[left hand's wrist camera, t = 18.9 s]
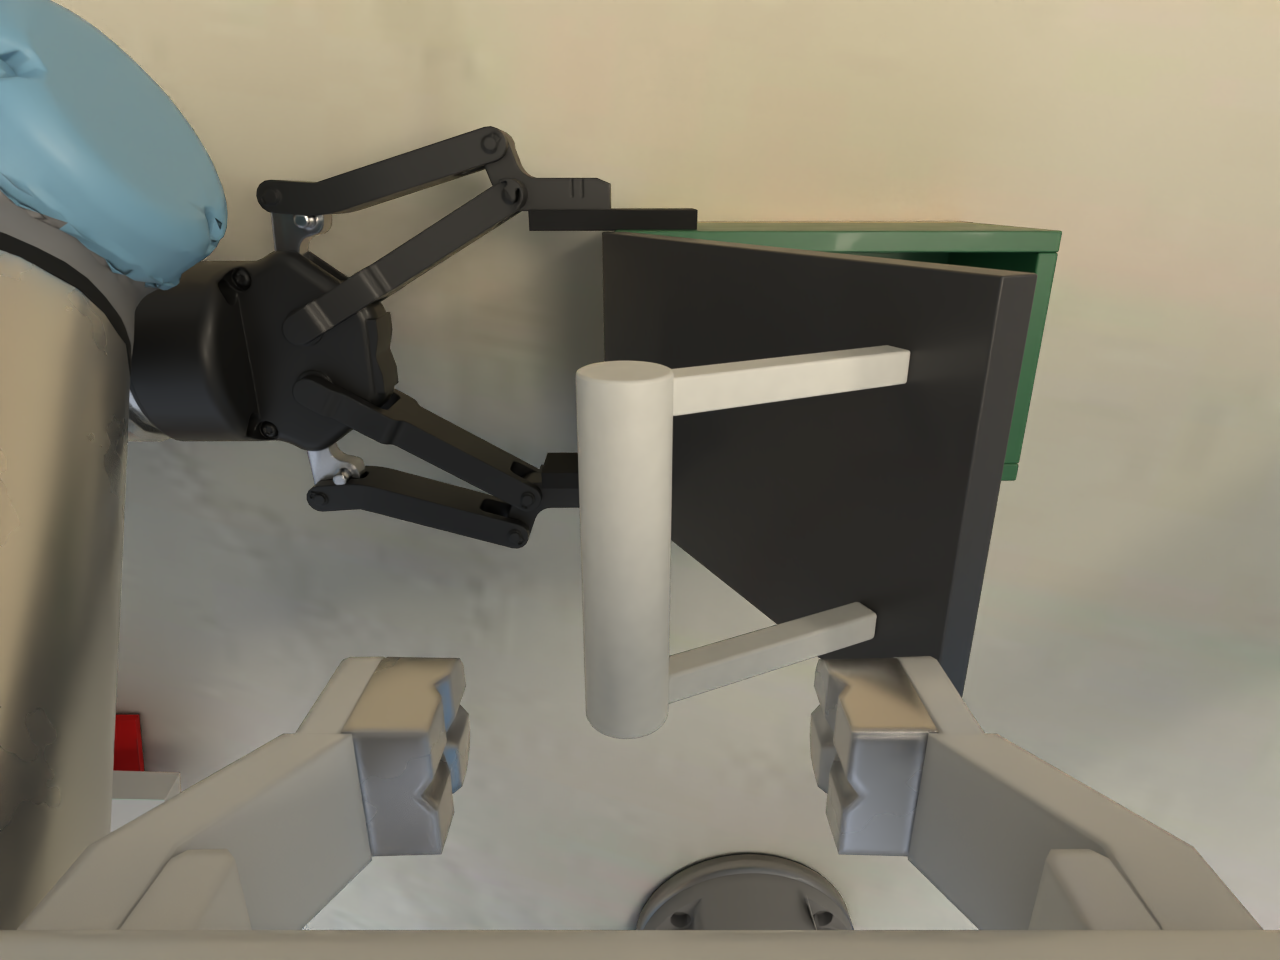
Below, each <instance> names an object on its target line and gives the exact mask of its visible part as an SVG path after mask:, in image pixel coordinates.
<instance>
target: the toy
mask: <svg viewBox="0 0 1280 960" xmlns="http://www.w3.org/2000/svg"><path fill="white" fill-rule="evenodd" d="M179 793H181V785H180V772H147V771H144V762H143V751H142V740H141V729H140V718H139V715H116V717H115V740H114V763H113V786H112V809H111V832H113V831H115V830H116V829H118V828H120V827H122V826H123V825H125V824H127V823H129V822H130V821H132V820H134V819H135V818H137V817H139V816H141V815H142V814H144V813H146V812H148V811H149V810H151V809H153V808H155V807H156V806H158V805H160V804H162V803H163V802H165V801H167V800H169V799H170V798H172V797H174V796H176V795H177V794H179ZM111 832H110V833H111Z"/></svg>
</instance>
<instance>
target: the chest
mask: <svg viewBox="0 0 1280 960" xmlns="http://www.w3.org/2000/svg"><path fill="white" fill-rule="evenodd" d="M615 232H633V233H643V234H653V235H663V236H673V237H682V238H692V239H702V240H712V241H722V242H732V243H742V244H752V245H761V246H771V247H781V248H791V249H801V250H811V251H821V252H830V253H840V254H850V255H860V256H870V257H880V258H890V259H900V260H909V261H919V262H929V263H939V264H949V265H959V266H969V267H979V268H988V269H998V270H1008V271H1018V272H1028V273H1035V274H1037V276H1038V277H1037V282H1036V288H1035V293H1034V299H1033V305H1032V310H1031V316H1030V321H1029V327H1028V332H1027V338H1026V344H1025V349H1024V355H1023V360H1022V366H1021V372H1020V377H1019V383H1018V388H1017V394H1016V400H1015V405H1014V411H1013V416H1012V422H1011V428H1010V433H1009V439H1008V444H1007V450H1006V456H1005V461H1004V467H1003V472H1002V478H1001V481H1014V480H1016V476H1017V470H1018V464H1017V463H1019V459H1020V454H1021V449H1022V443H1023V438H1024V433H1025V427H1026V422H1027V416H1028V411H1029V406H1030V400H1031V395H1032V390H1033V384H1034V379H1035V373H1036V368H1037V363H1038V357H1039V352H1040V347H1041V341H1042V336H1043V330H1044V325H1045V320H1046V314H1047V309H1048V304H1049V298H1050V293H1051V287H1052V282H1053V277H1054V271H1055V266H1056V261H1057V253H1056V252H1058V251H1059V246H1060V240H1061V235H1062V231H1057V230H1046V229H1035V228H1024V227H1013V226H1002V225H991V224H980V223H973V222H697V230H615Z"/></svg>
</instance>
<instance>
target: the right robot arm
mask: <svg viewBox="0 0 1280 960" xmlns="http://www.w3.org/2000/svg"><path fill="white" fill-rule="evenodd" d="M484 169H486V171H487V174H488V176H489V178H490V181H491V183H492V187H490V188H489V189H487V190H486V191H484V192H483V193H481V194H480V195H478V196H477V197H475V198H473V199H472V200H470V201H469V202H467V203H466V204H464V205H463V206H461V207H460V208H458V209H457V210H455V211H453V212H452V213H450V214H449V215H447V216H446V217H444V218H443V219H441V220H440V221H438V222H436V223H435V224H433V225H432V226H430V227H429V228H427V229H426V230H424V231H423V232H421V233H420V234H418V235H416V236H415V237H413V238H412V239H410V240H409V241H407V242H406V243H404V244H403V245H401V246H399V247H398V248H396V249H395V250H393V251H392V252H390V253H389V254H387V255H386V256H384V257H382V258H381V259H379V260H378V261H376V262H375V263H373V264H371V265H370V266H368V267H366V268H364V269H362V270H360V271H359V272H357V273H356V274H354V275H352V276H351V277H349V278H348V277H347V276H345V275H344V274H342V273H341V272H339V271H338V270H336V269H335V268H334V267H332V266H331V265H329V264H328V263H326V262H325V261H323V260H322V259H320V258H319V257H317V256H316V255H314V254H313V253H311V252H309V251H308V245H309V242H310V240H311V239H312V238H313V237H315V236H316V235H320V234H325V233H326V232H328V231H329V229H330V228H331V225H332V214H341V213H349V212H354V211H357V210H361V209H364V208H367V207H371V206H374V205H377V204H380V203H383V202H386V201H389V200H392V199H395V198H398V197H401V196H404V195H407V194H411V193H414V192H417V191H420V190H423V189H426V188H429V187H432V186H435V185H438V184H441V183H444V182H447V181H451V180H454V179H457V178H460V177H463V176H466V175H469V174H472V173H475V172H478V171H481V170H484ZM256 196H257V199H258V202H259V204H260V205H261V207H262V208H263V209H265V210H266V211H268V212H271V219H272V228H273V238H274V248H275V251H274V252H272V253H270V254H268V255H267V256H265V257H264V258H262V259H260V260H258V261H201V260H203V259H204V258H206V257H207V256H209V255H210V254H211V253H212V251H213V250H214V249H215V248H216V247H217V245H218V243H219V241H220V239H221V238H223V237H224V234H225V231H226V228H227V203H226V199H225V195H224V191H223V187H222V184H221V182H220V179H219V177H218V175H217V172H216V170H215V167H214V165H213V163H212V161H211V159H210V157H209V155H208V153H207V151H206V150H205V148H204V146H203V145H202V143H201V141H200V140H199V138H198V136H197V135H196V133H195V132H194V130H193V129H192V127H191V126H190V124H189V123H188V122H187V120H186V119H185V118H184V116H183V115H182V114H181V112H180V111H179V110H178V108H177V107H176V106H175V104H174V103H173V102H172V100H171V99H170V98H169V97H168V96H167V94H166V93H165V92H164V91H163V90H162V89H161V88H160V87H159V85H158V84H157V83H156V82H155V81H154V80H153V79H152V78H151V77H150V76H149V75H148V74H147V73H146V72H145V71H144V70H143V69H142V68H141V67H140V66H139V65H138V64H137V63H136V62H135V61H134V60H133V59H132V58H130V57H129V56H128V55H127V54H126V53H125V52H124V51H123V50H122V49H121V48H120V47H118V46H117V45H116V44H115V43H114V42H113V41H112V40H110V39H109V38H108V37H107V36H106V35H104V34H103V33H102V32H101V31H100V30H98V29H97V28H96V27H94V26H93V25H91V24H90V23H88V22H87V21H86V20H84V19H83V18H81V17H80V16H78V15H76V14H75V13H73V12H71V11H70V10H68V9H66V8H64V7H63V6H61V5H59V4H57V3H55V2H53V1H51V0H0V930H17V929H18V927H19V926H20V925H21V924H22V923H23V922H24V920H25V919H26V918H27V917H28V916H29V914H30V913H31V912H32V911H33V910H34V909H35V907H36V906H37V905H38V904H39V903H40V902H41V900H42V899H43V898H44V897H45V896H46V895H47V893H48V892H49V891H50V890H51V889H52V887H53V886H54V885H55V884H56V883H57V882H58V880H59V879H60V878H61V877H62V876H63V875H64V873H65V872H66V871H67V870H68V869H69V868H70V866H71V865H72V864H73V863H74V862H75V860H76V859H77V858H78V857H79V856H80V855H81V853H82V852H83V851H84V850H85V849H86V848H87V846H88V845H90V844H92V843H94V842H95V841H97V840H99V839H101V838H102V837H104V836H106V835H108V834H109V833H110V832H111V809H112V786H113V763H114V740H115V717H116V694H117V671H118V648H119V625H120V602H121V579H122V557H123V534H124V511H125V488H126V465H127V442H128V441H164V440H167V439H170V438H173V439H175V440H179V441H269V440H279V441H284V442H287V443H290V444H293V445H295V446H297V447H299V448H301V449H304V450H307V453H308V457H309V461H310V466H311V470H312V475H313V479H314V484H315V485H314V486H313V487H312V488H311V489H310V490H309V491H308V493H307V501H308V503H309V505H310V506H311V507H312V508H313V509H315V510H317V511H339V510H355V509H362V510H366V511H370V512H374V513H378V514H382V515H385V516H389V517H393V518H397V519H401V520H405V521H409V522H413V523H417V524H420V525H424V526H428V527H432V528H436V529H440V530H444V531H448V532H452V533H455V534H459V535H463V536H467V537H471V538H475V539H479V540H483V541H487V542H490V543H494V544H498V545H502V546H506V547H510V548H521V547H523V546H524V545H525V544H526V543H527V541H528V539H529V535H530V533H531V530H532V527H533V524H534V521H535V518H536V516H537V514H538V513H539V512H540V511H542V510H544V509H546V508H580V505H579V472H578V453H547V456H546V460H545V463H544V466H543V465H541V467H540V469H538V468H536V467H534V466H532V465H530V464H528V463H527V462H525V461H523V460H521V459H519V458H517V457H515V456H513V455H511V454H509V453H508V452H506V451H504V450H502V449H500V448H498V447H496V446H494V445H492V444H491V443H489V442H487V441H485V440H483V439H481V438H479V437H477V436H475V435H473V434H472V433H470V432H468V431H466V430H464V429H462V428H460V427H458V426H456V425H454V424H453V423H451V422H449V421H447V420H445V419H443V418H441V417H439V416H437V415H436V414H434V413H432V412H430V411H428V410H426V409H424V408H422V407H421V406H420V405H419V404H418V403H417V401H416V400H415V399H413V398H411V397H410V396H408V395H406V394H404V393H402V392H400V391H398V390H396V389H395V388H394V386H395V385H396V384H397V383H398V375H397V366H396V363H395V361H394V358H393V355H392V353H391V350H390V342H391V335H392V323H391V314H390V312H386V311H385V309H384V307H383V305H382V304H381V301H383V300H384V299H386V298H387V297H389V296H390V295H392V294H394V293H395V292H397V291H398V290H400V289H401V288H403V287H404V286H406V285H407V284H408V283H410V282H411V281H413V280H414V279H416V278H418V277H419V276H421V275H422V274H424V273H425V272H427V271H429V270H430V269H432V268H433V267H435V266H436V265H438V264H440V263H441V262H443V261H444V260H446V259H447V258H449V257H451V256H452V255H454V254H455V253H457V252H458V251H460V250H462V249H463V248H465V247H466V246H468V245H469V244H471V243H473V242H474V241H476V240H477V239H479V238H480V237H482V236H484V235H485V234H487V233H488V232H490V231H491V230H493V229H495V228H496V227H498V226H499V225H501V224H502V223H504V222H506V221H507V220H509V219H510V218H512V217H513V216H515V215H517V214H518V213H520V212H521V211H528V212H529V231H615V230H697V210H696V209H692V208H681V209H611V184H610V183H608V182H605V181H603V180H600V179H598V178H535V177H532V176H531V175H529V174H528V173H527V172H526V171H525V170H524V168H523V166H522V164H521V162H520V159H519V157H518V154H517V152H516V149H515V143H514V141H513V139H512V137H511V136H510V135H509V134H507V133H506V132H504V131H502V130H500V129H497V128H495V127H492V126H488V127H483V128H480V129H477V130H474V131H471V132H468V133H465V134H462V135H459V136H456V137H452V138H449V139H446V140H443V141H440V142H437V143H434V144H431V145H428V146H425V147H422V148H419V149H416V150H413V151H410V152H407V153H404V154H401V155H398V156H395V157H392V158H389V159H386V160H383V161H380V162H377V163H374V164H371V165H368V166H365V167H362V168H359V169H356V170H353V171H350V172H346V173H343V174H340V175H337V176H334V177H331V178H328V179H325V180H322V181H319V182H308V181H288V180H267V181H264V182H262V183H261V184H260V185H259V187H258V188H257V195H256ZM353 429H354V430H356V431H358V432H360V433H362V434H364V435H366V436H368V437H370V438H371V439H373V440H375V441H377V442H380V443H383V444H392V445H395V446H398V447H400V448H402V449H404V450H405V451H407V452H409V453H411V454H413V455H415V456H417V457H419V458H421V459H423V460H425V461H427V462H429V463H431V464H433V465H435V466H437V467H439V468H441V469H442V470H444V471H446V472H448V473H450V474H452V475H454V476H456V477H458V478H460V479H462V480H464V481H466V482H468V483H470V484H472V485H474V486H476V487H478V488H479V489H481V490H483V491H485V492H487V493H489V494H491V495H489V494H485V493H481V492H477V491H473V490H470V489H466V488H462V487H458V486H454V485H451V484H447V483H443V482H439V481H436V480H432V479H428V478H424V477H420V476H417V475H413V474H409V473H405V472H401V471H398V470H394V469H389V468H385V467H377V466H365V465H364V462H363V460H362V459H361V458H360V457H356V456H352V455H347V454H345V453H343V452H342V451H341V450H340V449H339V448H338V446H337V443H336V442H337V441H338V440H340V439H341V438H342V437H343V436H345V435H346V434H347V433H349V432H350V431H351V430H353ZM492 495H493V496H492ZM636 930H854V929H853V926H852V923H851V919H850V916H849V913H848V910H847V907H846V904H845V902H844V901H843V899H842V897H841V895H840V894H839V893H838V891H837V890H836V889H835V888H834V886H833V885H832V884H831V883H830V882H828V881H827V880H826V879H825V878H824V877H822V876H821V875H820V874H818V873H817V872H815V871H813V870H812V869H810V868H808V867H806V866H804V865H801V864H799V863H796V862H794V861H791V860H787V859H783V858H779V857H774V856H767V855H752V854H746V855H732V856H725V857H720V858H715V859H711V860H708V861H704V862H701V863H699V864H696V865H694V866H691V867H689V868H687V869H685V870H683V871H681V872H679V873H678V874H676V875H674V876H673V877H672V878H670V879H669V880H667V881H666V882H665V883H664V884H662V885H661V886H660V887H659V888H658V889H657V890H656V891H655V892H654V893H653V894H652V896H651V897H650V898H649V899H648V901H647V902H646V904H645V906H644V907H643V909H642V911H641V913H640V916H639V919H638V922H637V927H636Z"/></svg>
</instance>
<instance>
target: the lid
mask: <svg viewBox="0 0 1280 960" xmlns="http://www.w3.org/2000/svg"><path fill="white" fill-rule="evenodd" d="M602 241H603V300H604V360H605V362H599V363H594V364H589V365H586V366H584V367H581V368H579V369H578V370H577V372H576V407H577V440H578V472H579V505H580V538H581V570H582V603H583V635H584V668H585V701H586V716H587V719H588V721H589V722H590V724H591V725H592V727H593V728H595V729H596V730H597V731H599V732H600V733H602V734H604V735H607V736H610V737H614V738H620V739H633V738H639V737H643V736H646V735H649V734H651V733H653V732H655V731H656V730H658V729H659V728H660V727H661V726H662V725H663V724H664V722H665V720H666V718H667V716H668V704H670V703H673V702H676V701H679V700H682V699H685V698H688V697H692V696H695V695H698V694H701V693H704V692H707V691H710V690H713V689H717V688H720V687H723V686H726V685H729V684H732V683H735V682H739V681H742V680H745V679H748V678H751V677H754V676H757V675H760V674H764V673H767V672H770V671H773V670H776V669H779V668H782V667H785V666H789V665H792V664H795V663H798V662H801V661H804V660H807V659H810V658H814V657H817V656H818V657H819V658H820V659H868V658H894V657H920V656H931V657H933V658H935V659H936V660H937V661H938V662H939V664H940V665H941V667H942V669H943V670H944V672H945V673H946V675H947V676H948V678H949V679H950V681H951V682H952V684H953V685H954V687H955V688H956V690H957V691H958V693H959V695H960V696H961V698H962V696H963V690H964V685H965V679H966V674H967V668H968V662H969V657H970V651H971V646H972V640H973V635H974V629H975V623H976V618H977V612H978V607H979V601H980V595H981V590H982V584H983V579H984V573H985V567H986V562H987V556H988V551H989V545H990V539H991V534H992V528H993V523H994V517H995V511H996V506H997V500H998V495H999V489H1000V483H1001V478H1002V472H1003V467H1004V461H1005V456H1006V450H1007V444H1008V439H1009V433H1010V428H1011V422H1012V416H1013V411H1014V405H1015V400H1016V394H1017V388H1018V383H1019V377H1020V372H1021V366H1022V360H1023V355H1024V349H1025V344H1026V338H1027V332H1028V327H1029V321H1030V316H1031V310H1032V305H1033V299H1034V293H1035V288H1036V282H1037V277H1038V276H1037V274H1035V273H1028V272H1018V271H1008V270H998V269H988V268H979V267H969V266H959V265H949V264H939V263H929V262H919V261H909V260H900V259H890V258H880V257H870V256H860V255H850V254H840V253H830V252H821V251H811V250H801V249H791V248H781V247H771V246H761V245H752V244H742V243H732V242H722V241H712V240H702V239H692V238H682V237H673V236H663V235H653V234H643V233H633V232H603V233H602ZM671 540H672V541H673V542H674V543H676V544H677V545H678V546H679V547H681V548H682V549H683V550H684V551H686V552H687V553H688V554H689V555H691V556H692V557H693V558H694V559H696V560H697V561H698V562H700V563H701V564H702V565H703V566H705V567H706V568H707V569H708V570H710V571H711V572H712V573H713V574H715V575H716V576H717V577H718V578H720V579H721V580H722V581H723V582H725V583H726V584H727V585H728V586H730V587H731V588H732V589H734V590H735V591H736V592H737V593H739V594H740V595H741V596H742V597H744V598H745V599H746V600H747V601H749V602H750V603H751V604H752V605H754V606H755V607H756V608H757V609H759V610H760V611H761V612H762V613H764V614H765V615H766V616H768V617H769V618H770V619H771V620H773V621H774V622H775V623H776V624H778V625H774V626H771V627H768V628H764V629H761V630H757V631H754V632H750V633H747V634H743V635H740V636H736V637H733V638H730V639H726V640H723V641H719V642H716V643H712V644H709V645H705V646H702V647H699V648H695V649H692V650H688V651H685V652H681V653H678V654H674V655H671V656H669V636H670V572H671Z"/></svg>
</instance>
